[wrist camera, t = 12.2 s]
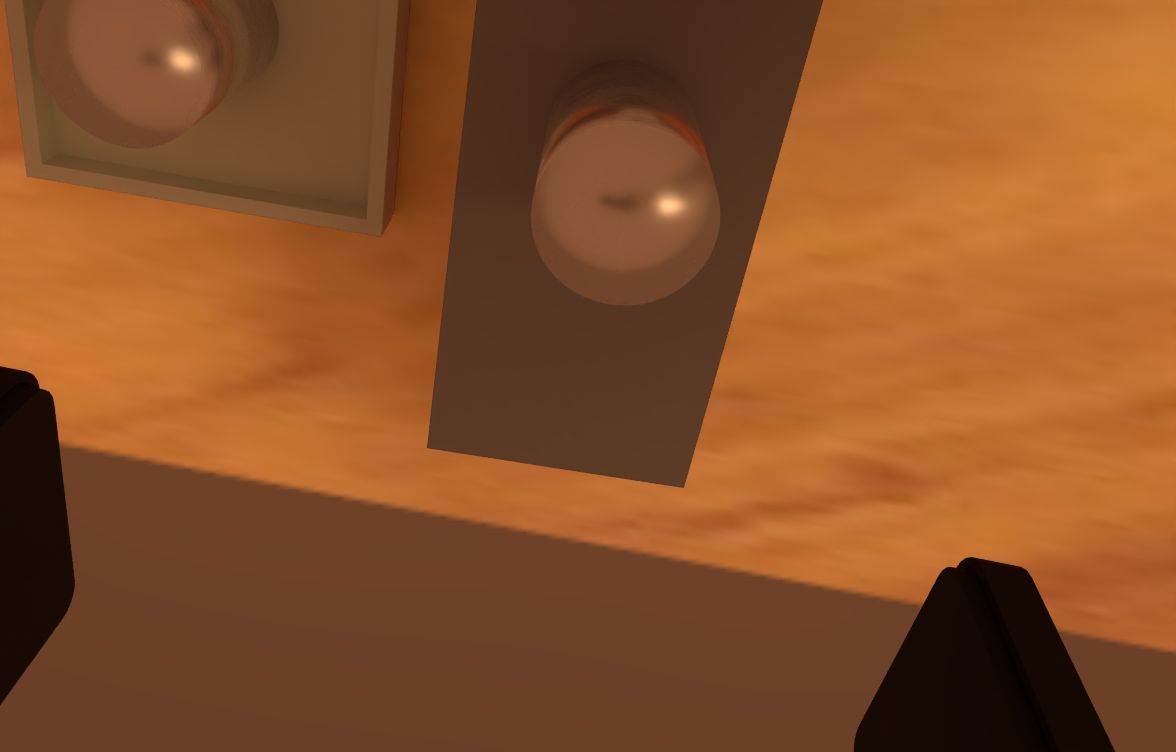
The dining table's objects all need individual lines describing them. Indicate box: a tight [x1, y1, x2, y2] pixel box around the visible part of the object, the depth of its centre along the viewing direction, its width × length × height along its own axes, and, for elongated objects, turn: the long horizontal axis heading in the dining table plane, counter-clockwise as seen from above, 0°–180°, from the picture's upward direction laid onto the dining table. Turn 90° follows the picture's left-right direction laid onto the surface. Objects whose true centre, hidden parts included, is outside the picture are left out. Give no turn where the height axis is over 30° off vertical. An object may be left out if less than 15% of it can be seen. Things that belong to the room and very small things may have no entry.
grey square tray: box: [5, 0, 410, 237], centre depth 28 cm, size 11×11×2 cm
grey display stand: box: [427, 0, 823, 488], centre depth 28 cm, size 22×8×5 cm, turn 170°
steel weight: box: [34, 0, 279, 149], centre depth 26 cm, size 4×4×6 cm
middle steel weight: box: [531, 60, 720, 305], centre depth 23 cm, size 4×4×6 cm
